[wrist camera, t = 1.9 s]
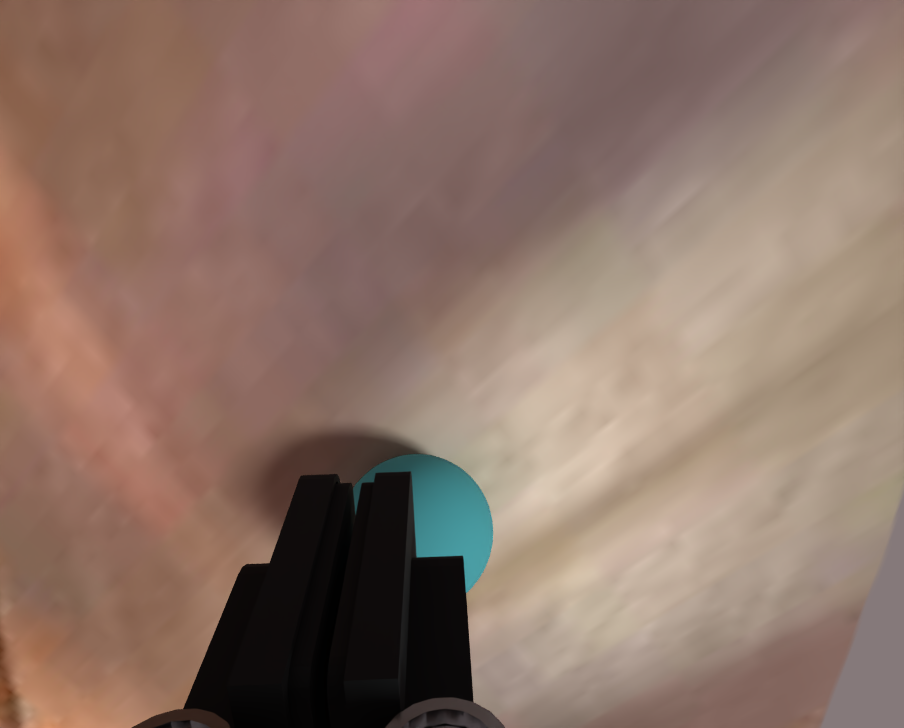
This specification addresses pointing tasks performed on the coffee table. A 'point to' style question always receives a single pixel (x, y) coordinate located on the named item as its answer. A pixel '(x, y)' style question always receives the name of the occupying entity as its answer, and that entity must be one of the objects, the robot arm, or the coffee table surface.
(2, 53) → the coffee table surface
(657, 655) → the coffee table surface
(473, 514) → the ball
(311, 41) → the coffee table surface
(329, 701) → the robot arm
